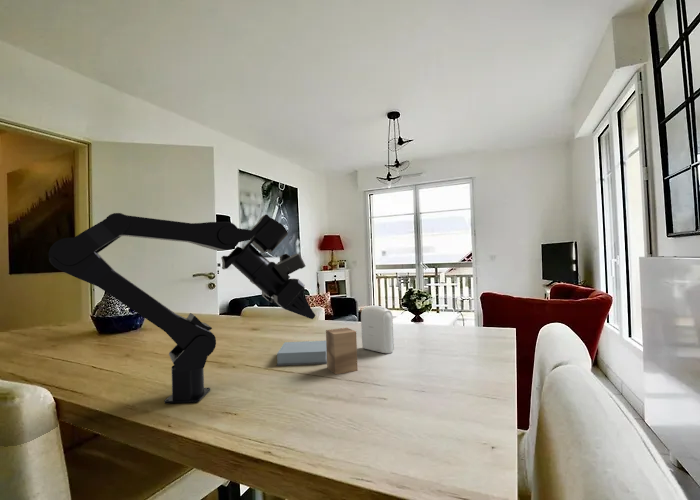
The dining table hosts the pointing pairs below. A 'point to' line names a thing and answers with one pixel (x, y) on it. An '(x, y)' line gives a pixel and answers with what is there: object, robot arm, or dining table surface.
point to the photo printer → (377, 329)
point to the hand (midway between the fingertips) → (307, 314)
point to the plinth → (302, 353)
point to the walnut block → (341, 350)
